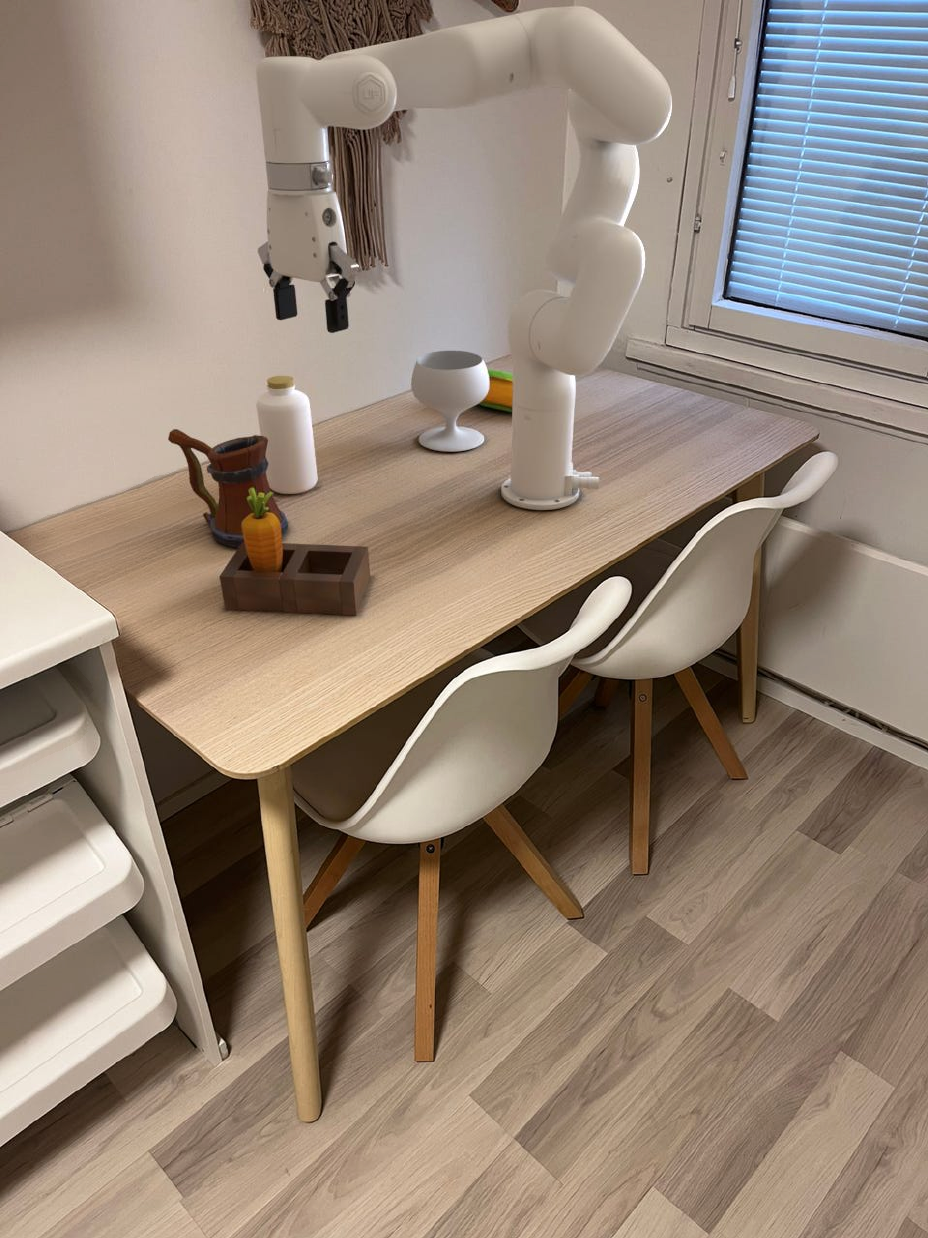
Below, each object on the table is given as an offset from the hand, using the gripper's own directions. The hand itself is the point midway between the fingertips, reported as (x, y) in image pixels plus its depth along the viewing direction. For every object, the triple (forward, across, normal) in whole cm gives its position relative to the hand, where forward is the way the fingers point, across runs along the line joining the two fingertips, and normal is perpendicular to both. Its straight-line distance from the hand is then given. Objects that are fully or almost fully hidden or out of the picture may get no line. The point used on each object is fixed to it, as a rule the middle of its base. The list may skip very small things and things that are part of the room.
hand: (312, 324), depth 117 cm
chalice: (+31, +11, -41) cm, 53 cm away
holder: (+32, -8, +13) cm, 35 cm away
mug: (+32, +14, +7) cm, 35 cm away
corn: (+31, +14, -61) cm, 70 cm away
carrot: (+32, -5, +16) cm, 36 cm away
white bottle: (+32, +19, -9) cm, 38 cm away
